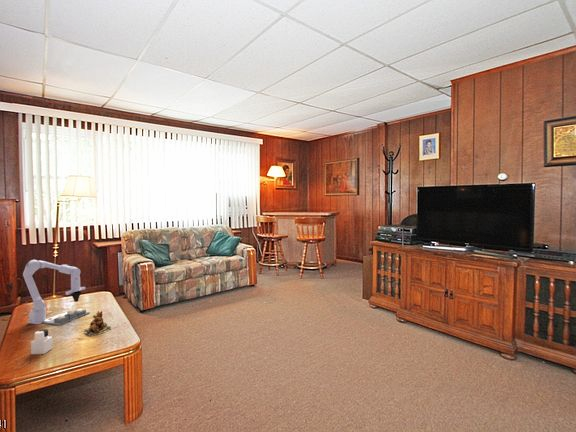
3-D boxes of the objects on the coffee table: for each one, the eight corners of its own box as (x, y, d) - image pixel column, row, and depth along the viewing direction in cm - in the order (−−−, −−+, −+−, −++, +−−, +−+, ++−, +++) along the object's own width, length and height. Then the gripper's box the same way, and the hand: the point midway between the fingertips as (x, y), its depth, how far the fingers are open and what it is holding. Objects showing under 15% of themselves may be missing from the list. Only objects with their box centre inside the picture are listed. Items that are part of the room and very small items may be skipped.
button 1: (56, 321, 217) (56, 317, 217) (62, 319, 221) (61, 315, 221) (61, 321, 216) (60, 317, 216) (66, 319, 220) (66, 315, 220)
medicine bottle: (39, 348, 179) (39, 328, 179) (52, 348, 180) (52, 327, 180) (30, 354, 172) (30, 333, 172) (44, 354, 173) (43, 333, 172)
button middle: (65, 315, 224) (65, 311, 224) (71, 313, 228) (70, 309, 228) (70, 315, 223) (70, 311, 223) (75, 313, 227) (75, 309, 227)
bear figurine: (79, 333, 201) (78, 315, 200) (101, 325, 214) (101, 308, 214) (91, 337, 195) (91, 318, 194) (114, 329, 208) (114, 311, 208)
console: (39, 322, 217) (38, 318, 217) (70, 311, 240) (70, 306, 240) (59, 325, 213) (58, 320, 213) (89, 313, 236) (89, 309, 236)
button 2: (74, 314, 231) (74, 310, 231) (79, 312, 235) (79, 308, 234) (79, 314, 230) (79, 310, 230) (83, 313, 234) (83, 309, 233)
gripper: (70, 286, 224) (71, 305, 225) (88, 281, 238) (88, 298, 239) (63, 285, 226) (63, 304, 227) (81, 280, 240) (81, 298, 241)
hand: (76, 301), depth 233 cm, fingers closed
